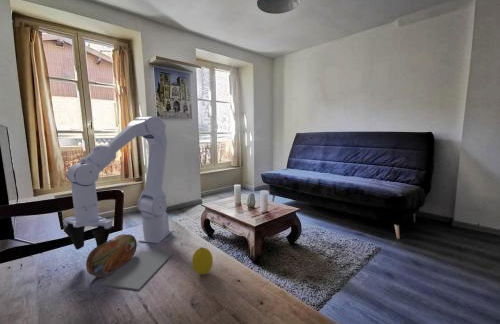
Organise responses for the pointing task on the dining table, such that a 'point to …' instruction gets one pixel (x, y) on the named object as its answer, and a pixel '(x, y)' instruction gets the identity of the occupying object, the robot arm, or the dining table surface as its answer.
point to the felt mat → (137, 270)
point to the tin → (111, 255)
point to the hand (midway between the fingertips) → (90, 249)
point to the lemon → (202, 261)
